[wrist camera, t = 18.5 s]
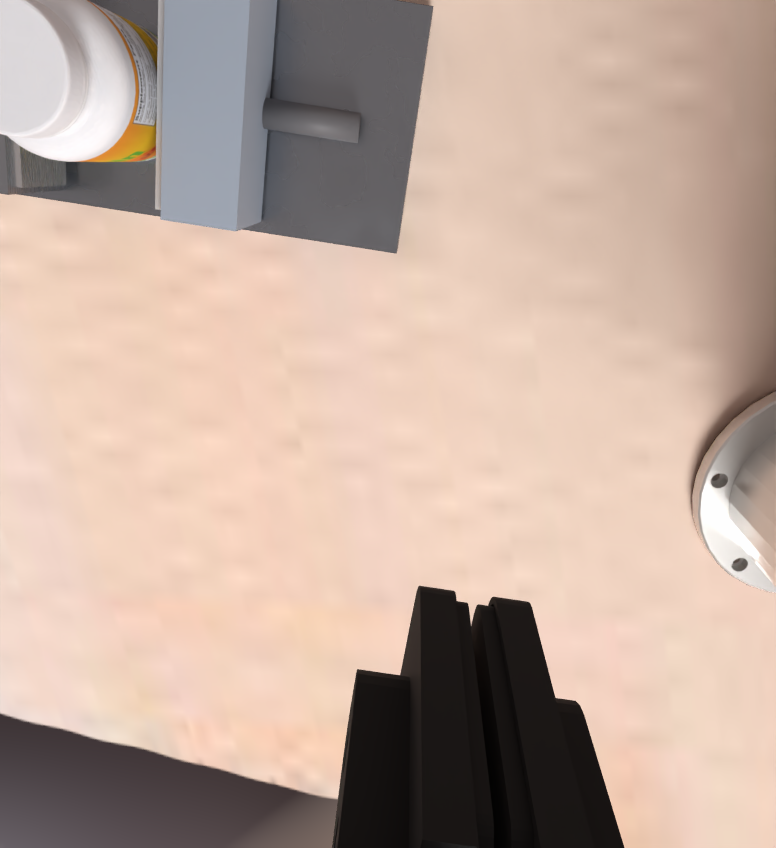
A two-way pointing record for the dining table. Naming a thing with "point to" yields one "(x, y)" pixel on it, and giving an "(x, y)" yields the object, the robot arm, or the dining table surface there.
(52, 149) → the supplement bottle
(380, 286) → the dining table surface
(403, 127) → the vise bed
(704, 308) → the dining table surface
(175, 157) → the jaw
